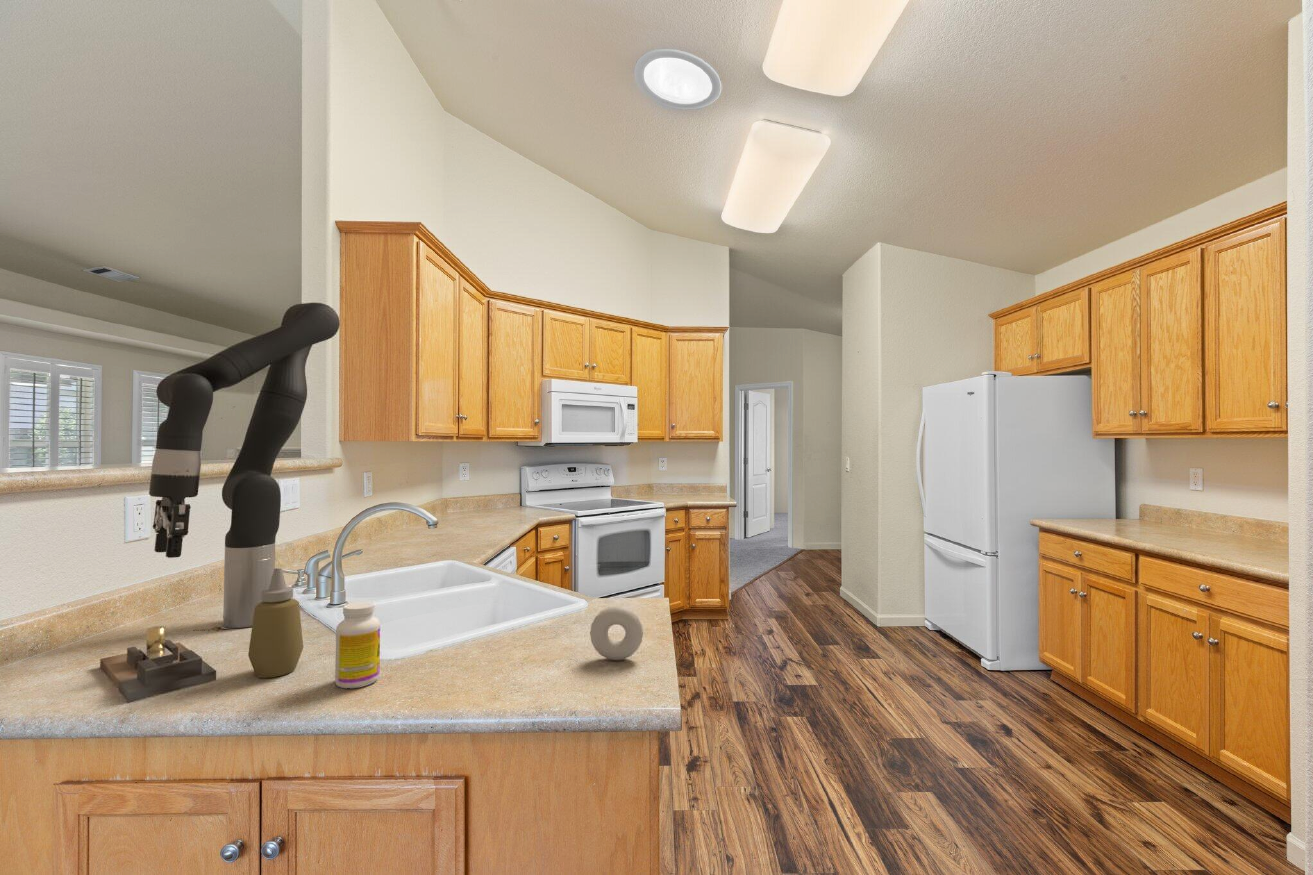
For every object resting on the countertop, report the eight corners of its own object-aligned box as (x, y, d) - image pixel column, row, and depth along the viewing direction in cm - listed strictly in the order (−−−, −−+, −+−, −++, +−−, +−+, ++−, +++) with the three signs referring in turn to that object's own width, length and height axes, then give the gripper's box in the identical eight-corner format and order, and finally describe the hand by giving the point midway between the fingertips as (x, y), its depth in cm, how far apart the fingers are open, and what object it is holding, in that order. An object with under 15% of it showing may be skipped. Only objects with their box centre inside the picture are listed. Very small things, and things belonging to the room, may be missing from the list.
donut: (643, 656, 110) (643, 604, 110) (642, 663, 106) (643, 609, 106) (590, 655, 110) (591, 603, 110) (588, 662, 106) (589, 608, 106)
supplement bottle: (384, 682, 96) (386, 605, 96) (340, 693, 92) (342, 613, 92) (372, 670, 101) (374, 597, 102) (330, 680, 97) (332, 604, 97)
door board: (179, 650, 110) (179, 628, 110) (216, 679, 97) (216, 654, 97) (100, 667, 101) (100, 643, 102) (128, 702, 88) (129, 674, 88)
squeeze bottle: (243, 685, 95) (245, 575, 95) (251, 667, 102) (253, 566, 102) (301, 676, 99) (303, 571, 99) (304, 660, 106) (306, 562, 106)
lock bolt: (160, 654, 103) (161, 621, 103) (172, 665, 98) (173, 630, 99) (138, 659, 101) (139, 625, 101) (149, 670, 96) (150, 634, 96)
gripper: (210, 475, 114) (201, 557, 112) (189, 472, 122) (181, 549, 121) (161, 473, 108) (151, 561, 107) (143, 470, 116) (133, 551, 115)
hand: (167, 554), depth 114 cm, fingers open, 8 cm apart
